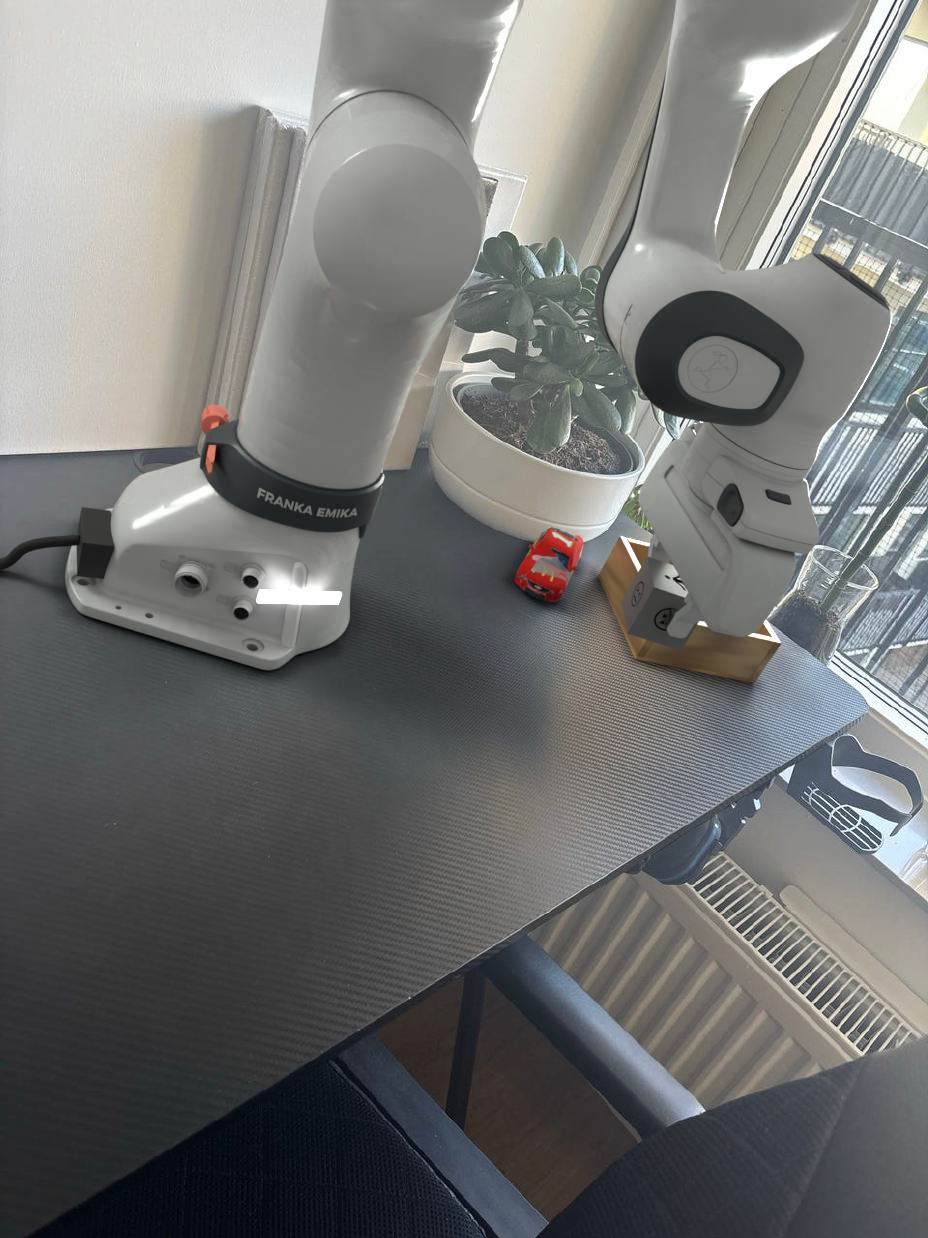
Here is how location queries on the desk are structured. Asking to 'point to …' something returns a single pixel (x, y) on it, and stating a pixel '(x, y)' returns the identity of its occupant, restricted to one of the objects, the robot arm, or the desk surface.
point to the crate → (704, 645)
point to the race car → (550, 564)
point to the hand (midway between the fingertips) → (660, 608)
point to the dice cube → (654, 603)
